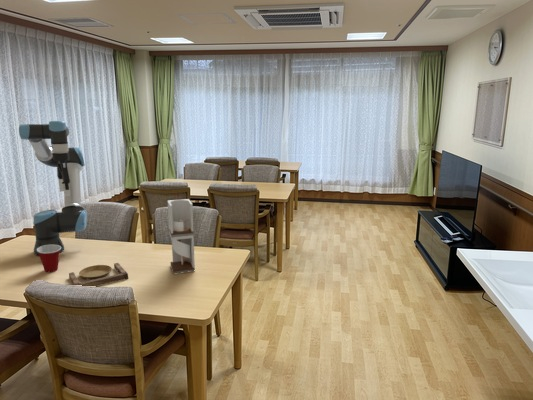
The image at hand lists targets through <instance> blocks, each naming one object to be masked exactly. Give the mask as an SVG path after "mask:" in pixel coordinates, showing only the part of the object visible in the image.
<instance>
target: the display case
mask: <svg viewBox="0 0 533 400" xmlns="http://www.w3.org/2000/svg"><path fill="white" fill-rule="evenodd" d="M193 213H194V209H193V202H192V201H191V200H190V199H189V198H184V199H172V200H171V199H169V200H167V216H168V217H167V219H168V234H169V236H170V239H171V251H172V252H171V253H172V261H170V267H171V271H172V274H173V275H175V274H174V273H178V274H182V273H181V272H186V273H189V272H188V271H194V270H195V269H196V268H195V266H196V265H195V240H194V239H195V236H194V214H193ZM195 271H196V270H195ZM195 271H194V272H195Z"/></svg>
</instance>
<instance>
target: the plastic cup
mask: <svg viewBox="0 0 533 400" xmlns="http://www.w3.org/2000/svg"><path fill="white" fill-rule="evenodd" d="M60 249H61V246H59V245H44V246H40V247H39V248H37V249H36V250H37V252H38V253H39V258H40V261H41V264H42V268H43V270H44V272H45V273H53V272H56V271H58V269H59V263H60V262H59V261H60V253H61V252H60Z"/></svg>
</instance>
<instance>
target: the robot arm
mask: <svg viewBox="0 0 533 400" xmlns="http://www.w3.org/2000/svg"><path fill="white" fill-rule="evenodd" d="M18 135H19V138H20V139H21V140H26V141H28V142H29V143H30V145H31V147H32V149H33V150H34V152H35V153H34V155H35V158H36V159H37V160H38V161H39V163H42V164H44V165H46V166H49V167H51V168H56V169H57V170H56V171H57V172H56V173H57V175H56V177H57V179H58V180H57V181H58V186H59V188H58V189H59V192H62V193H63V196H64V206H63V207H61V211H60V212H59V211H57V210H56V209H47V210H42V211H39V212H37V213H35V214H34V216H32V219H33V220H32V221H33V223H32V224H33V228H34V229H33V230H34V236H35V241H34V242H35V244H34V247H33V254H34V255H35V256H39V253H38V252H37V250H36V249H37V248H39V247H40V246H44V245H59V246H61V249H60V253H62V252H64V251H65V244H64V243H63V240H62V239H61V237H60V234H62V233H73V232H82V231H85V229H86V227H87V224H88V223H87V222H88V211H87V210H86V209H85V208H84V206H82V198H81V197H82V196H81V194H82V193H81V174H80V171H82V170H83V167H85V166H86V164H85V160H84V156H83V155H84V154H83V152H82V151H83V150H82V148H80V147H75V146H72V147H69V142H68V137H69V135H70V129H69V127H68V126H67V123H66V121H65V120H50V121H48V123H44V124H43V123H42V124H40V123H38V124H37V123H36V124H35V123H26V124H20V125H19V126H18ZM47 140H50V146H49V144H48V142H47ZM39 257H40V256H39Z"/></svg>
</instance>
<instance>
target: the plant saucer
mask: <svg viewBox="0 0 533 400" xmlns="http://www.w3.org/2000/svg"><path fill="white" fill-rule="evenodd" d="M111 271H112V266H110V265H107V264H97V265H92V266H87V267H84V268H82V269H81V270H80V271H78V275H79V277H81V278H83V279H84V280H86V281H90V280H95V279H99V278H104V277H108V275H109V274H110V273H111Z"/></svg>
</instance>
